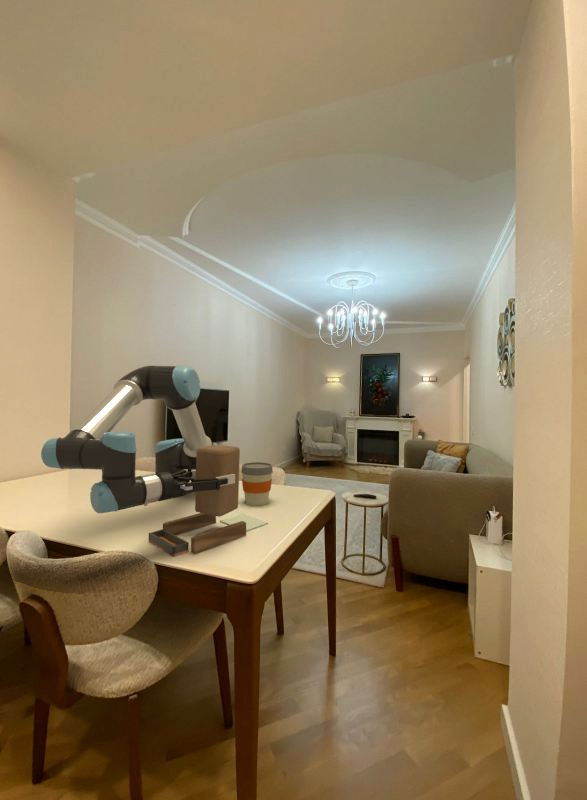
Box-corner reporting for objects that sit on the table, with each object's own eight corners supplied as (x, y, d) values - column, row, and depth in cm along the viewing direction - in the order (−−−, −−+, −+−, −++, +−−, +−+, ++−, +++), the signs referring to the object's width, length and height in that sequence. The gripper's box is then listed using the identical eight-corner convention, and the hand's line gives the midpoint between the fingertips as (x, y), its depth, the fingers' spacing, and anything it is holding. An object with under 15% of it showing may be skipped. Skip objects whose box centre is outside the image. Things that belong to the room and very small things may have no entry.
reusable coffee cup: (261, 496, 152) (262, 461, 152) (278, 503, 142) (278, 466, 141) (235, 500, 144) (235, 464, 144) (250, 509, 134) (251, 469, 134)
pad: (220, 521, 120) (220, 520, 120) (242, 514, 128) (242, 513, 128) (245, 532, 112) (245, 530, 112) (267, 523, 119) (267, 522, 119)
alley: (162, 536, 107) (162, 523, 107) (212, 521, 121) (212, 509, 121) (194, 554, 96) (195, 539, 96) (246, 535, 109) (246, 522, 109)
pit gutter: (148, 541, 103) (148, 533, 103) (163, 537, 107) (163, 528, 107) (173, 556, 94) (173, 547, 94) (188, 551, 97) (188, 542, 97)
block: (220, 518, 105) (221, 450, 104) (193, 512, 109) (195, 447, 109) (239, 508, 114) (241, 446, 113) (214, 503, 118) (215, 443, 118)
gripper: (136, 492, 104) (200, 480, 120) (179, 511, 88) (246, 494, 104) (136, 467, 104) (200, 458, 120) (179, 481, 88) (246, 469, 104)
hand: (222, 475), depth 112 cm, fingers closed on block, 12 cm apart
